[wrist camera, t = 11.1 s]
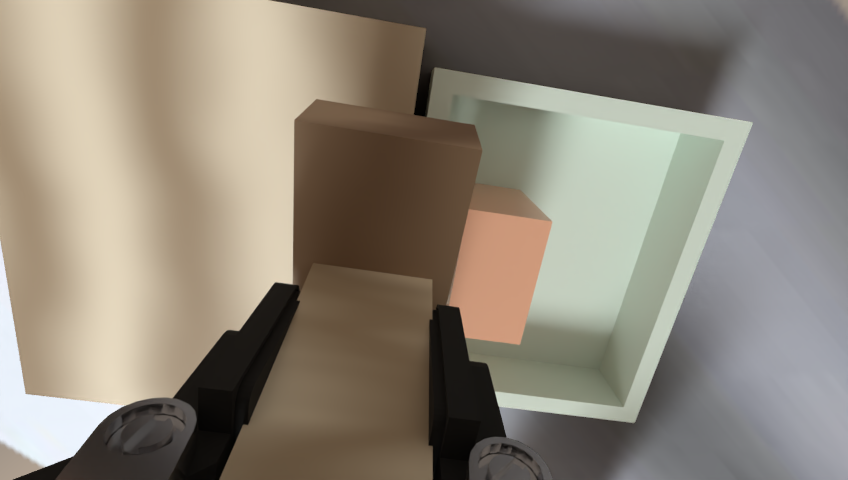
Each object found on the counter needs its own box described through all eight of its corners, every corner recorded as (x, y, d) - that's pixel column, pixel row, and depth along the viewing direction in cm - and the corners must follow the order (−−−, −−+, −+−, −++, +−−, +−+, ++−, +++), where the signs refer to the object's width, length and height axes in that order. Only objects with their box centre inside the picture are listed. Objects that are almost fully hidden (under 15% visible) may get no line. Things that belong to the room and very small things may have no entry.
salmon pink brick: (455, 179, 20) (520, 189, 20) (437, 279, 21) (497, 288, 22) (468, 209, 15) (552, 221, 15) (442, 334, 17) (519, 344, 17)
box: (695, 116, 20) (752, 122, 16) (604, 377, 24) (634, 423, 21) (431, 70, 19) (435, 67, 15) (388, 349, 23) (383, 392, 20)
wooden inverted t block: (474, 125, 11) (740, 973, 2) (416, 393, 16) (393, 989, 6) (316, 98, 11) (-553, 924, 1) (306, 380, 16) (115, 980, 6)
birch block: (424, 43, 18) (426, 28, 14) (376, 363, 24) (366, 432, 19) (77, -18, 17) (-49, -57, 13) (107, 329, 23) (26, 393, 18)
